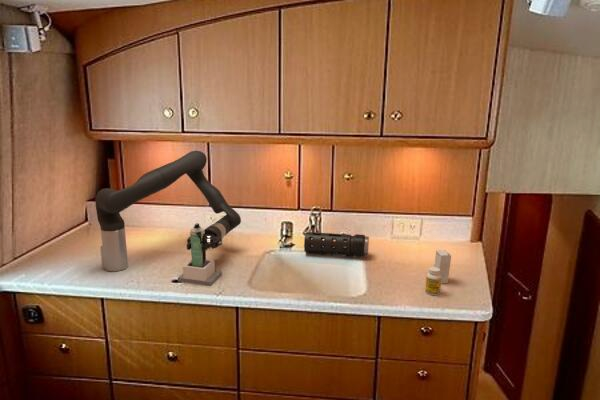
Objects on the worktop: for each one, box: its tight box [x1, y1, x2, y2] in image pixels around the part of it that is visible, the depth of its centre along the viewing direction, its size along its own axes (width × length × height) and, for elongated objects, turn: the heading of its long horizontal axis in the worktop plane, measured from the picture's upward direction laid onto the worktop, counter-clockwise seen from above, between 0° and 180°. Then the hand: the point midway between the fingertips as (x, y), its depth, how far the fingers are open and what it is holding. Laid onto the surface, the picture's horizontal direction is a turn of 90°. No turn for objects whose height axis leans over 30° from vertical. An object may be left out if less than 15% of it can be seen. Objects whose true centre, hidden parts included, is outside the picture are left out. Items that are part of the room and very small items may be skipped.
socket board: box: [177, 259, 223, 287], centre depth 194 cm, size 14×10×6 cm
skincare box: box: [433, 249, 452, 284], centre depth 194 cm, size 6×4×12 cm
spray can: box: [189, 222, 207, 268], centre depth 191 cm, size 6×6×20 cm
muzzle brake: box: [303, 231, 370, 258], centre depth 219 cm, size 10×28×10 cm, turn 81°
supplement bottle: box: [424, 266, 442, 296], centre depth 184 cm, size 5×5×10 cm
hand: (195, 248), depth 189 cm, fingers closed on spray can, 5 cm apart
